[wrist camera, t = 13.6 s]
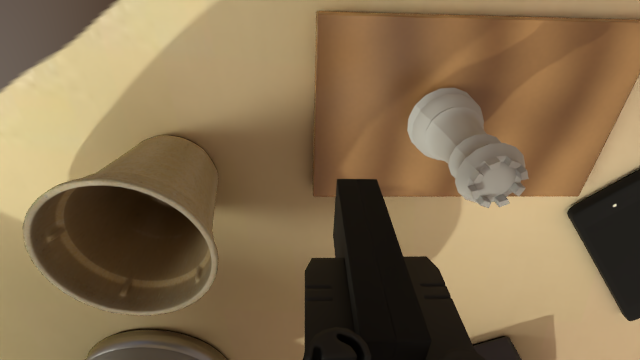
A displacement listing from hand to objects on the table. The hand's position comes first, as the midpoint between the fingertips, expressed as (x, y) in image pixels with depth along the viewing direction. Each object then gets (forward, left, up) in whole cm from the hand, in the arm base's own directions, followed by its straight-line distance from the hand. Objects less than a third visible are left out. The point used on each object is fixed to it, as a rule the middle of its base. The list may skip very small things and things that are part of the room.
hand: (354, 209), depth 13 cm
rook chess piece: (+7, 0, -10) cm, 12 cm away
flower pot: (-11, -5, -12) cm, 17 cm away
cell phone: (+29, -12, -12) cm, 33 cm away
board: (+9, 0, -12) cm, 15 cm away
